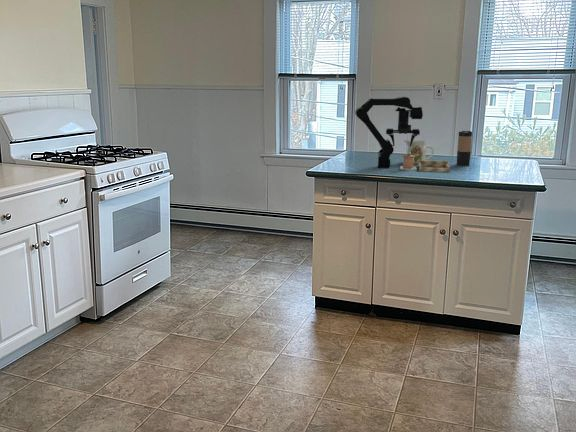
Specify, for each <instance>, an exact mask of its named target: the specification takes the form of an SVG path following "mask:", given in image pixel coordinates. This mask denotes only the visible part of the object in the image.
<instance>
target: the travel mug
mask: <svg viewBox="0 0 576 432" xmlns="http://www.w3.org/2000/svg"><path fill="white" fill-rule="evenodd" d="M472 138H473V131H470V130H462V131H458V139H457V151H456V165H457V166H462V167H463V166H464V167H465V166H466V167H470V163H471V162H470V161H471V154H472V140H473V139H472Z"/></svg>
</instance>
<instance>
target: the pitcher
mask: <svg viewBox="0 0 576 432" xmlns="http://www.w3.org/2000/svg"><path fill="white" fill-rule="evenodd" d="M410 141H411V139H409V140H407V139H406V140H403V142H405V143H406V145H407V150H406V151H407V153H408V152H410V153H411V155H415V157H414V165H415V164H417V165H418V160H425V161H429V160H430V159H431V158H432V157H433V156H434V153H435V152H434V151H435V150H434V147H433V146H432V145H426V144H427V141H424V140H415V139H414V140H413V142H412V145H411V147H410ZM428 148H430V150H431V154H430V155H429V156H428V157H426V155H427V149H428Z"/></svg>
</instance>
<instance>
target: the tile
mask: <svg viewBox="0 0 576 432" xmlns="http://www.w3.org/2000/svg"><path fill="white" fill-rule="evenodd" d="M399 170H406V171H407V170H408V171H410V170H411V171H418V170H417V166H415V165H414V168H403V165H400V166H399Z"/></svg>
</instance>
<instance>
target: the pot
mask: <svg viewBox="0 0 576 432" xmlns="http://www.w3.org/2000/svg"><path fill="white" fill-rule="evenodd" d="M414 157H415V155H411V153H410V152H408V153H407V154H403V155H402V158H403V160H402V161H403V162H402V166H403V168H414V166H415V163H414Z"/></svg>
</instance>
